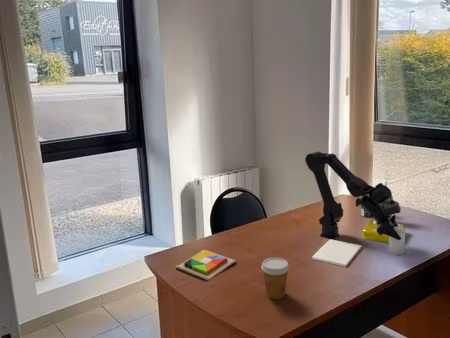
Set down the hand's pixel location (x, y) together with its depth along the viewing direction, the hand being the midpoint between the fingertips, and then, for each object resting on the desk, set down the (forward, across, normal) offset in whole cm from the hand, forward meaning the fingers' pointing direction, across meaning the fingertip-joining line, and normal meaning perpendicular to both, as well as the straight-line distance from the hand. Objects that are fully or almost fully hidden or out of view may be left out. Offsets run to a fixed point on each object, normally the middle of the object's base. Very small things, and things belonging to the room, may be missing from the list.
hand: (400, 236), depth 181 cm
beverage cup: (-1, +32, +11) cm, 34 cm away
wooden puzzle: (-45, -36, +56) cm, 80 cm away
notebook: (-12, -9, +22) cm, 26 cm away
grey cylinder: (+4, 0, +6) cm, 7 cm away
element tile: (0, +16, +11) cm, 20 cm away
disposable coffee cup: (-22, -48, +32) cm, 62 cm away
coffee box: (-7, +40, +17) cm, 44 cm away
